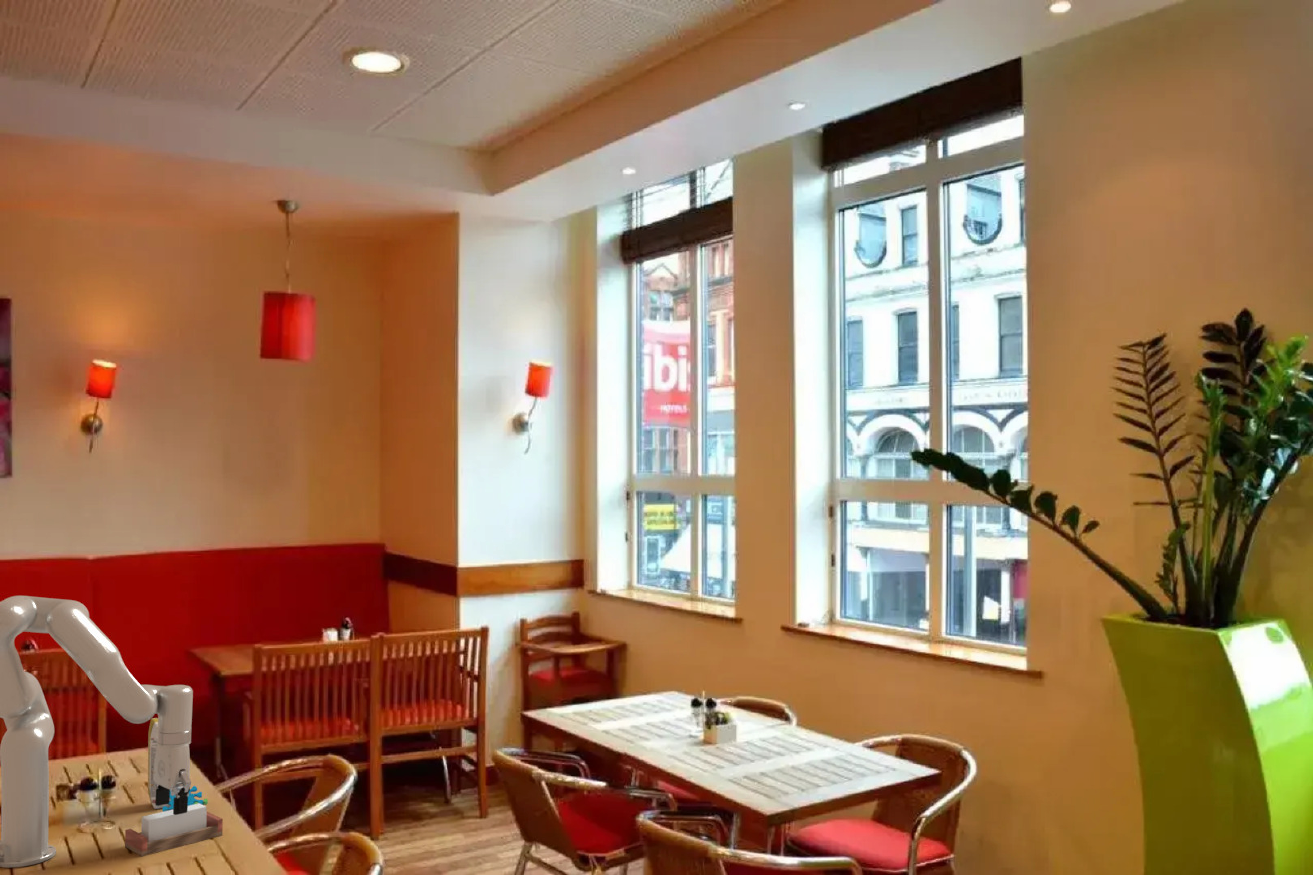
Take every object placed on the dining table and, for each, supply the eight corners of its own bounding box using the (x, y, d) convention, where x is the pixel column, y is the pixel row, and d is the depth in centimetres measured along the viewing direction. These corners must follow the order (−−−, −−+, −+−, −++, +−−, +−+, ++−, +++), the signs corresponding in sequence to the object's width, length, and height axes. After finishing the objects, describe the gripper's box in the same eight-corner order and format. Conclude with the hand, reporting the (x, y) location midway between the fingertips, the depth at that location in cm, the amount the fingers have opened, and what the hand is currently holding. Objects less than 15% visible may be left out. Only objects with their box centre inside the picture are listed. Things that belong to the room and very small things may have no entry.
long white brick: (148, 846, 260) (148, 820, 260) (141, 842, 263) (141, 816, 263) (206, 831, 270) (206, 806, 270) (198, 827, 273) (199, 803, 273)
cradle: (141, 856, 256) (142, 838, 256) (125, 846, 262) (125, 829, 263) (222, 835, 270) (222, 818, 271) (204, 826, 277) (204, 810, 277)
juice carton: (183, 797, 301) (184, 709, 302) (188, 805, 294) (189, 714, 295) (146, 803, 296) (147, 713, 297) (150, 811, 289) (151, 719, 290)
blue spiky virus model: (157, 817, 279) (166, 781, 287) (157, 828, 283) (166, 792, 291) (203, 819, 282) (211, 783, 290) (203, 830, 286) (210, 795, 293)
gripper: (143, 733, 270) (140, 804, 269) (174, 746, 258) (171, 820, 258) (173, 729, 276) (170, 798, 275) (205, 741, 264) (202, 814, 263)
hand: (171, 809), depth 266 cm, fingers open, 9 cm apart
